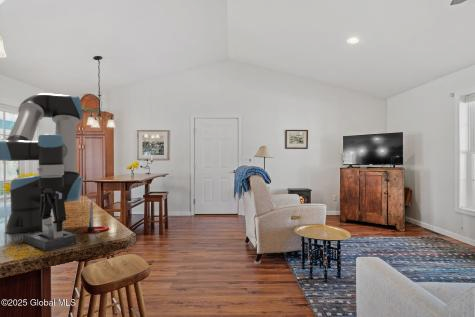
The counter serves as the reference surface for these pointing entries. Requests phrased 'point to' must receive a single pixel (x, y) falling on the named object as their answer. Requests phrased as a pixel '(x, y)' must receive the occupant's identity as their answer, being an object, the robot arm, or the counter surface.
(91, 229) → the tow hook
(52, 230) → the block
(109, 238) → the counter surface
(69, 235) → the dark grey tray
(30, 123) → the robot arm
